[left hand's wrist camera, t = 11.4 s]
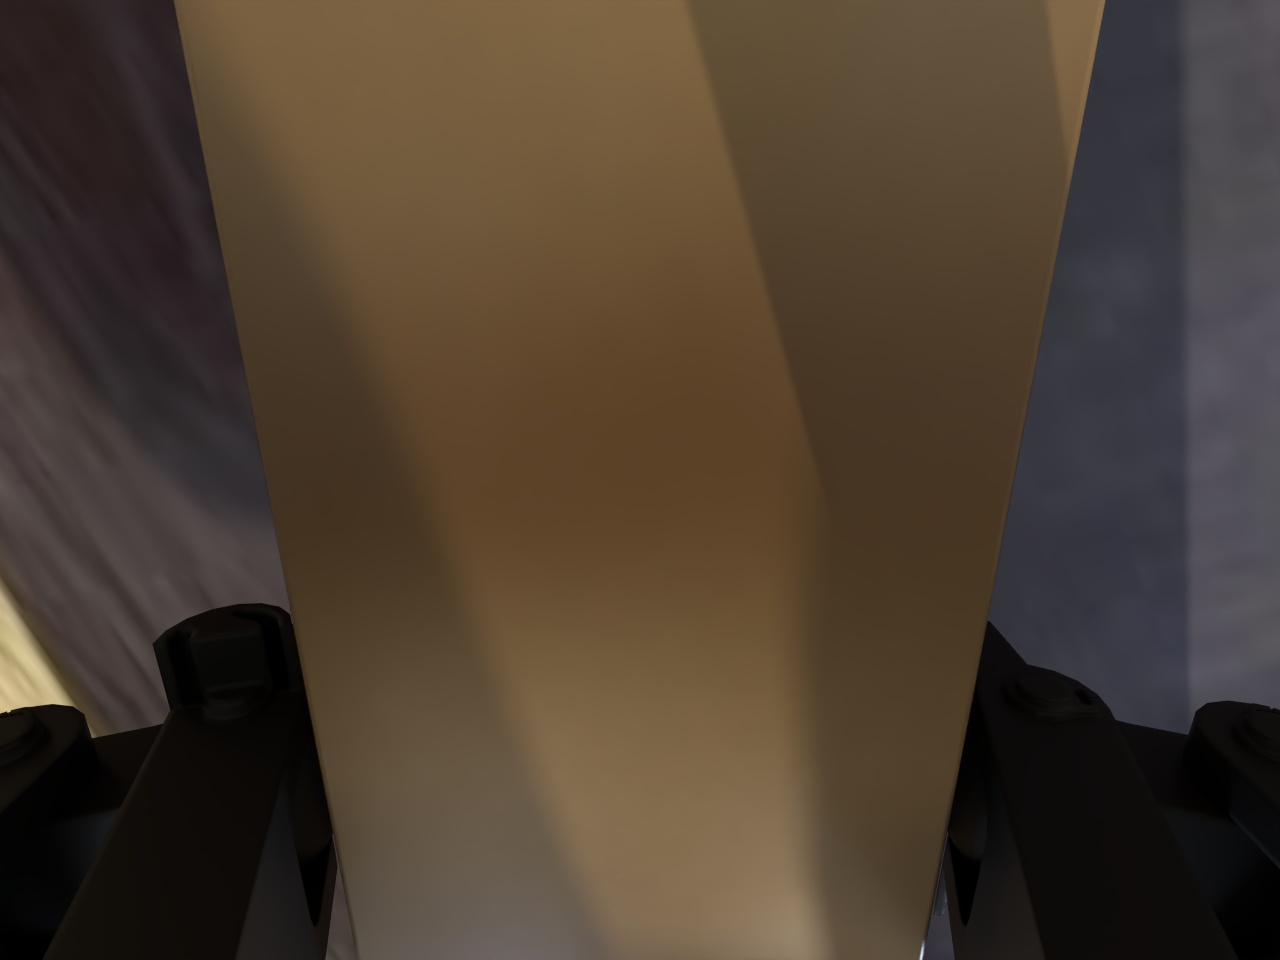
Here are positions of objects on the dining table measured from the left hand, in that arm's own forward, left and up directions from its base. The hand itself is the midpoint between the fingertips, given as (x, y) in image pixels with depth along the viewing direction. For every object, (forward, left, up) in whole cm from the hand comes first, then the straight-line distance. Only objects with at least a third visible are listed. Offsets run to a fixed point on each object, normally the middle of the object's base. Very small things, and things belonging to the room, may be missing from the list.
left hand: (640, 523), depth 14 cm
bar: (+6, -8, -1) cm, 10 cm away
